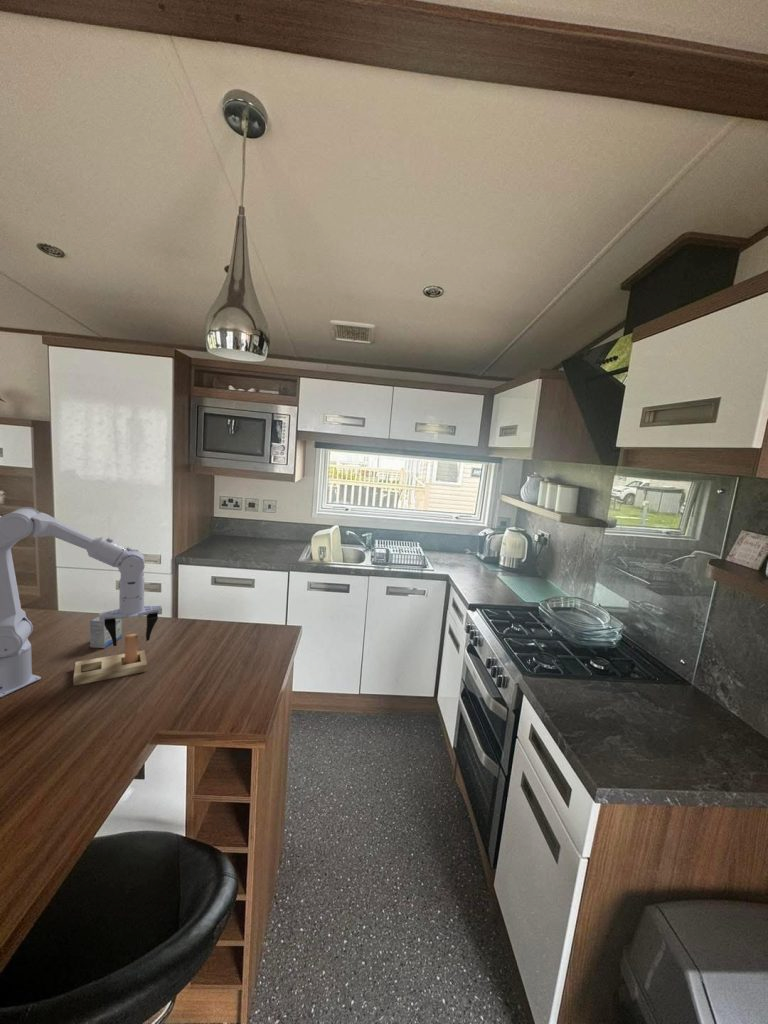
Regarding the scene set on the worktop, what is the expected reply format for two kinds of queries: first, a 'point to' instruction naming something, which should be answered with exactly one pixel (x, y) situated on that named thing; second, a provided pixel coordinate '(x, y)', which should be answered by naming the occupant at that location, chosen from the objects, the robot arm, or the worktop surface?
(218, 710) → the worktop surface
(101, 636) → the medicine box
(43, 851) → the worktop surface
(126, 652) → the peg
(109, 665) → the hole block
